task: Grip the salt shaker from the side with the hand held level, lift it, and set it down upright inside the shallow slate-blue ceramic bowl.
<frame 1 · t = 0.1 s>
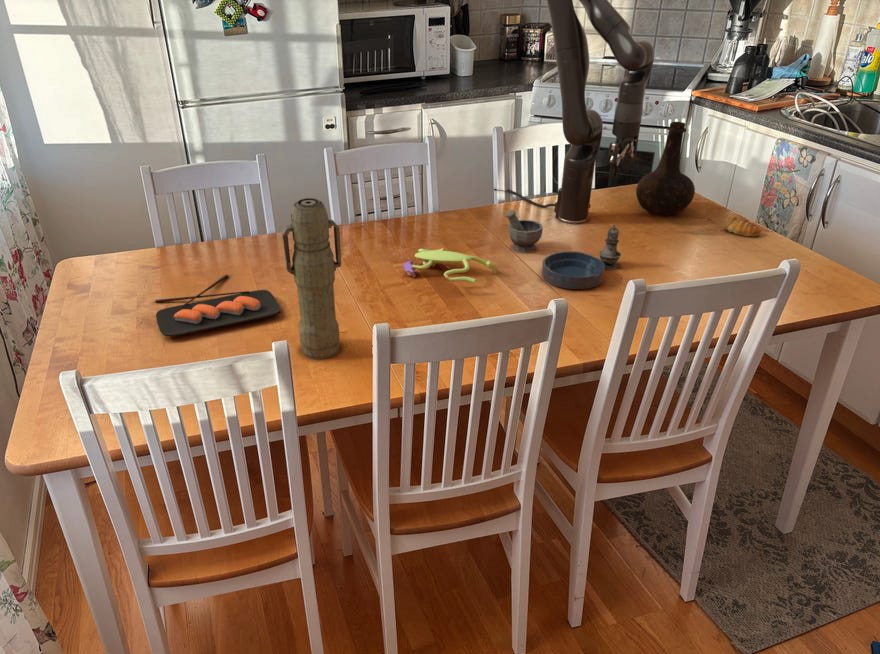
hand: (619, 173, 215), 17 cm above the table, tool pointing down, fingers open, 8 cm apart
salt shaker: (608, 266, 202), on the table
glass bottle: (661, 211, 237), on the table
bowl: (572, 277, 196), on the table
pastry: (740, 232, 221), on the table
thermos: (320, 350, 166), on the table
sushi plate: (213, 305, 186), on the table
mortar and pestle: (521, 249, 213), on the table
figurine: (449, 274, 199), on the table
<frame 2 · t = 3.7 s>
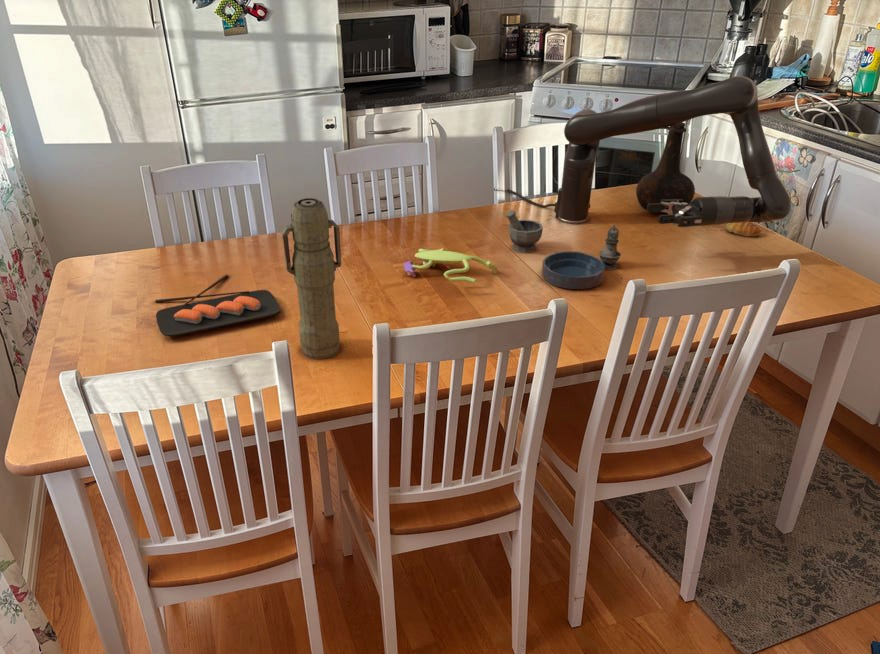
hand: (653, 213, 195), 15 cm above the table, tool horizontal, fingers open, 8 cm apart
nothing on the table moved.
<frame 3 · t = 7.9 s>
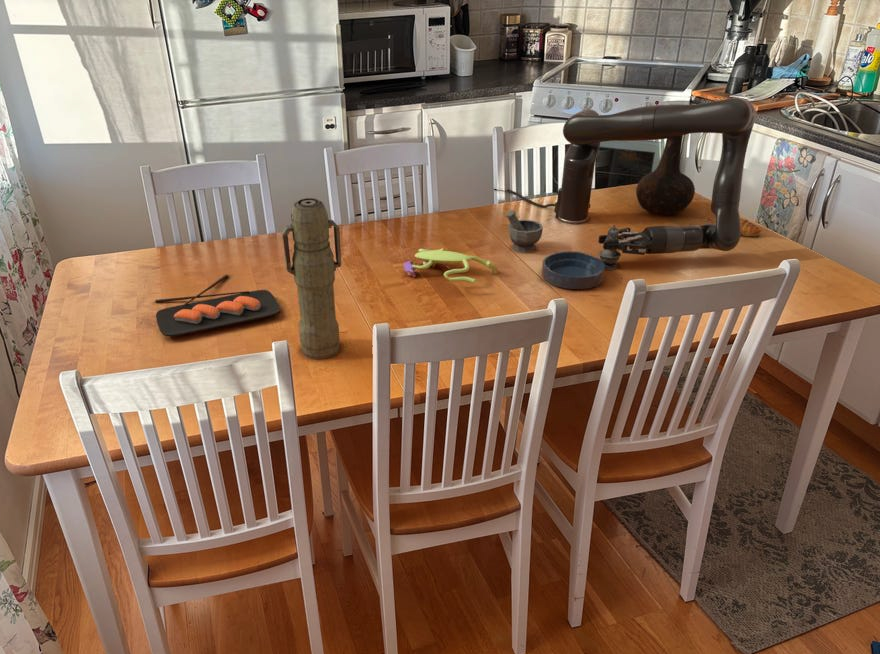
hand: (601, 242, 198), 7 cm above the table, tool horizontal, fingers closed on salt shaker, 3 cm apart
salt shaker: (608, 266, 202), on the table, touching gripper
everything else where it was.
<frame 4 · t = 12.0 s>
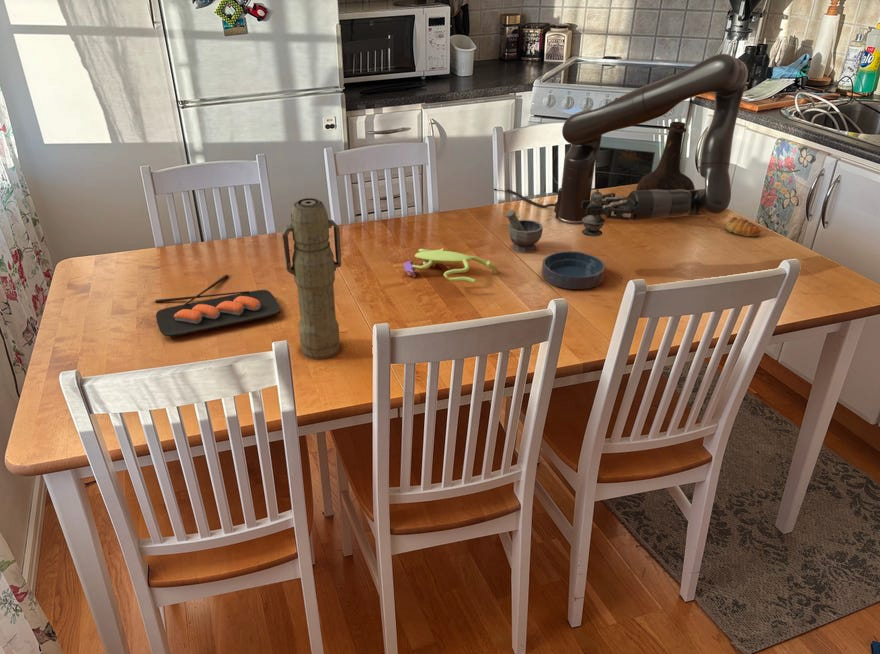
hand: (584, 208, 188), 19 cm above the table, tool horizontal, fingers closed on salt shaker, 3 cm apart
salt shaker: (592, 233, 192), point 12 cm above the table, touching gripper
everything else where it was.
when the fingers open (8 cm above the table, at t = 16.0 s): salt shaker stays where it is, resting on bowl.
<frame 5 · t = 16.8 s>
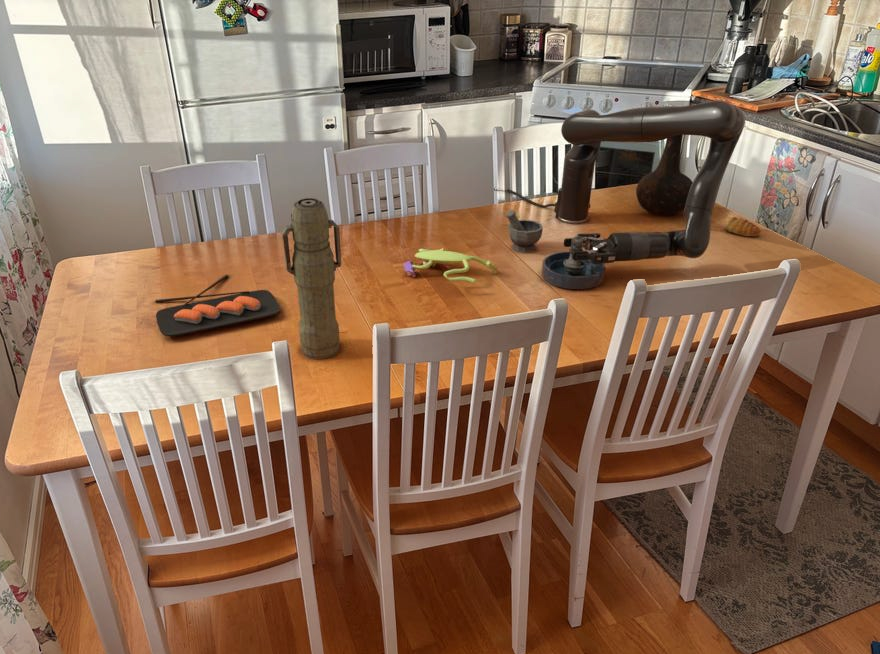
hand: (568, 249, 191), 8 cm above the table, tool horizontal, fingers open, 8 cm apart
salt shaker: (572, 276, 196), resting on bowl
everything else where it was.
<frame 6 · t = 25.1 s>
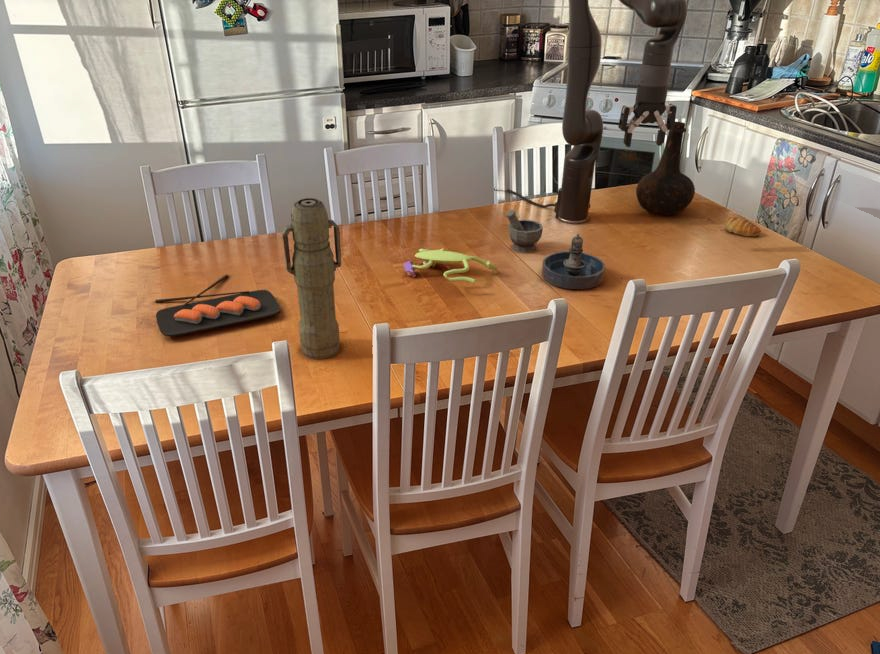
hand: (643, 145, 195), 30 cm above the table, tool pointing down, fingers open, 8 cm apart
nothing on the table moved.
at the end: salt shaker inside the target area in the bowl (0.1 cm from its centre), point 0.4 cm above the bowl's base; salt shaker tilted 0°; the gripper is holding nothing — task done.
